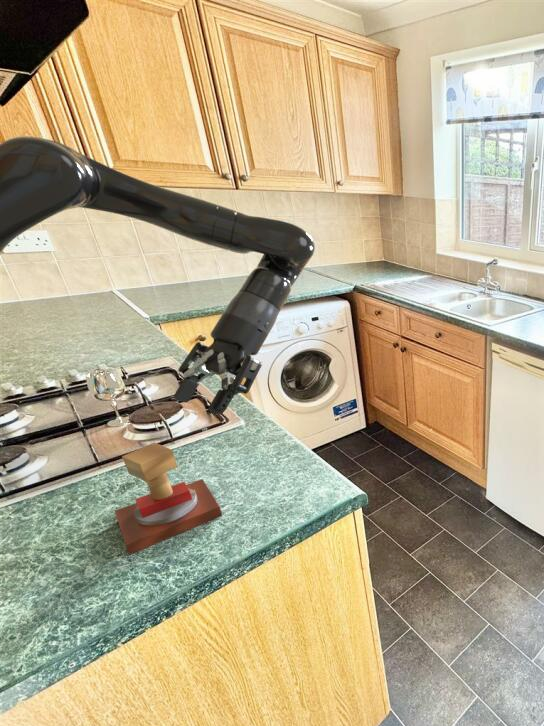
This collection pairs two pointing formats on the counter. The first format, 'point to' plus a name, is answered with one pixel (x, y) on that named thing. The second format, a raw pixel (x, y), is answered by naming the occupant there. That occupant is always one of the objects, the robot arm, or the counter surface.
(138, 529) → the stamp stand
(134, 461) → the stamp
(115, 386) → the wineglass
